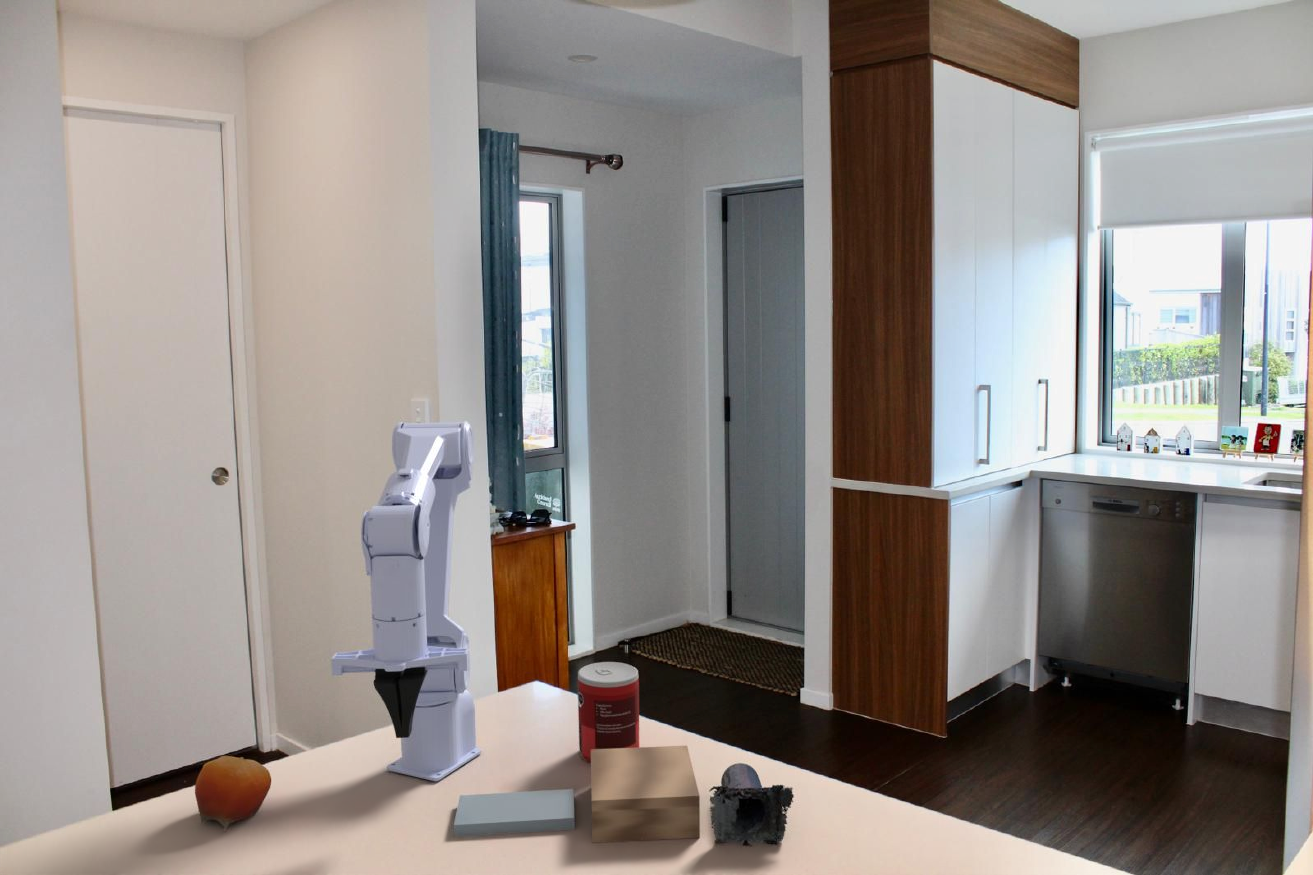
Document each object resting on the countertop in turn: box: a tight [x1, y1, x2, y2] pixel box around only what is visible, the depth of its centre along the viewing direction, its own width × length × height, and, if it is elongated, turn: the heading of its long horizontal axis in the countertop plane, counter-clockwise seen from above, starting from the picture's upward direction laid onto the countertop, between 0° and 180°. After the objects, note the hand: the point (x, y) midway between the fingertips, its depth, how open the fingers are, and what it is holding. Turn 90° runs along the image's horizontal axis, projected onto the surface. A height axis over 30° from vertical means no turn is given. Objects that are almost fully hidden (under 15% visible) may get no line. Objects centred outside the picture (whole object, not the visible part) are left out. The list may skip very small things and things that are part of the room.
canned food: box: [577, 661, 640, 764], centre depth 129 cm, size 8×8×11 cm
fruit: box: [194, 755, 272, 833], centre depth 114 cm, size 8×8×8 cm
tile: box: [453, 788, 576, 837], centre depth 113 cm, size 13×7×2 cm, turn 96°
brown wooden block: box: [590, 745, 701, 844], centre depth 114 cm, size 12×13×5 cm
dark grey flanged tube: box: [708, 762, 795, 847], centre depth 112 cm, size 9×8×12 cm
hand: (404, 734), depth 111 cm, fingers closed
